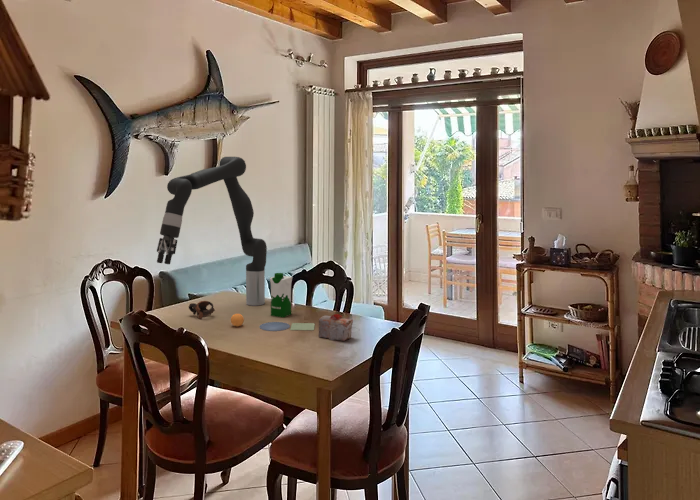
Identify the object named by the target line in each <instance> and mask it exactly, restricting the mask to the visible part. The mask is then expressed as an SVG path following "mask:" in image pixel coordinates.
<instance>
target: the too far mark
mask: <svg viewBox="0 0 700 500" xmlns="http://www.w3.org/2000/svg"><path fill="white" fill-rule="evenodd" d="M315 325H316V324H315V323H314V322H291V325H290V328H289V330H290V331H315Z"/></svg>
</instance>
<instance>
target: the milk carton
mask: <svg viewBox="0 0 700 500" xmlns="http://www.w3.org/2000/svg"><path fill="white" fill-rule="evenodd" d="M269 281H270V316H271V317H277V318H283V319H284V318H286V317H288V316H291V315H292V281H293V276H287V275H284V273H283V272H276V273H274V275H273V276H271V277H270V278H269Z"/></svg>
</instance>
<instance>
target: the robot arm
mask: <svg viewBox="0 0 700 500" xmlns="http://www.w3.org/2000/svg"><path fill="white" fill-rule="evenodd" d="M246 170H247V164H246V160H244V159H243V158H242V157H239V156H223V157H222V158H221V159H220V160H219V165H218V166H215V167H209V168H205V169H201V170H198V171H195V172H192V173H191V174H187V175H181V176H177V177H174V178H172V179H170V180H169V181H168V183H167V186H166V187H167V191H168V193H169V194H170V195H172V196H173V195H174V196H173V198H172V199H169V200H168V201H167V203H166V206H165V207H166V208H165V211H164V216H163V217H162V222H161V227H160V231H159V234H160V235H161V236H163V237H160V238H159V239H158V240H159V241H158V243H157V248H156V252H157V254H158V255H157V259H156V263H157V264H163V263H164V264H165V265H170V264H171V262H172V257H173V256H174V255H175V254H176V250H177V244H178V238H179V237H180V232H181V228H182V223H183V215H184V211H185V210H184V209H185V207H186V205H187V203H188V201H189V199H190V197H191V195H192V191H193V190H199V189H202V188H204V187H207V186H209V185H211V184H214V183H217V182H221V181H223V182H224V184H225V186H226V190H227V193H228V197H229V200H230V202H231V206H232V211H233V214H234V218H235V221H236V226H237V228H238V233H239V238H240V244H241V249H242V252H243V253H244V255H246V256H247V257H252V261H251V262H250V263H247V264H246V265H245V288H246V289H245V291H246V292H245V293H246V294H245V295H246V296H245V297H246V299H245V304H246V305H248V306H254V307H256V306H262V305H265V303H266V302H265V301H266V296H265V294H266V293H265V292H266V290H265V289H266V287H265V286H266V284H265V283H266V279H265V276H266V275H265V274H266V272H265V270H266V269H265V267H266V264H267V253H268V252H267V250H268V248H267V243H266V241H265V240H264V239H262V238H257V237H254V236H253V233H252V227H251V226H252V222H253V219H254V208H253V205H252V201H251V199H250V197H249V195H248V194H247V193H246V191H245V190H244V189H243V188H242V186H241V184H240V182H239V180H238V177H241V176H243V175H244V174H245V172H246Z"/></svg>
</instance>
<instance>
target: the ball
mask: <svg viewBox="0 0 700 500" xmlns="http://www.w3.org/2000/svg"><path fill="white" fill-rule="evenodd" d="M244 322H245V318H244V316H243V315H242V314H241V313H234V314H233V315H232V316H231V317H230V323H231V325H232V326H233V327H240V326H242V325H243V324H244Z"/></svg>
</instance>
